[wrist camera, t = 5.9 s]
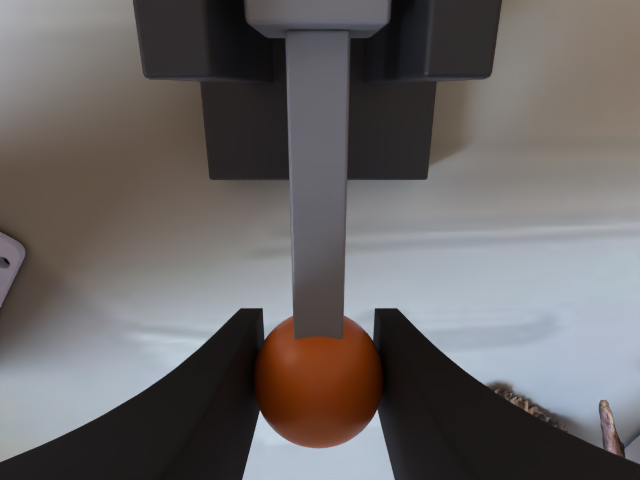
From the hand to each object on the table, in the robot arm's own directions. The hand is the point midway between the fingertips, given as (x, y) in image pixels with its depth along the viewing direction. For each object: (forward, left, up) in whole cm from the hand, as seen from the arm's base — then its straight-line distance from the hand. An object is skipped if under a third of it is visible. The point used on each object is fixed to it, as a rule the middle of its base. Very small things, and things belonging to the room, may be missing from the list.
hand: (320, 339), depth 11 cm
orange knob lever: (+4, +2, 0) cm, 4 cm away
